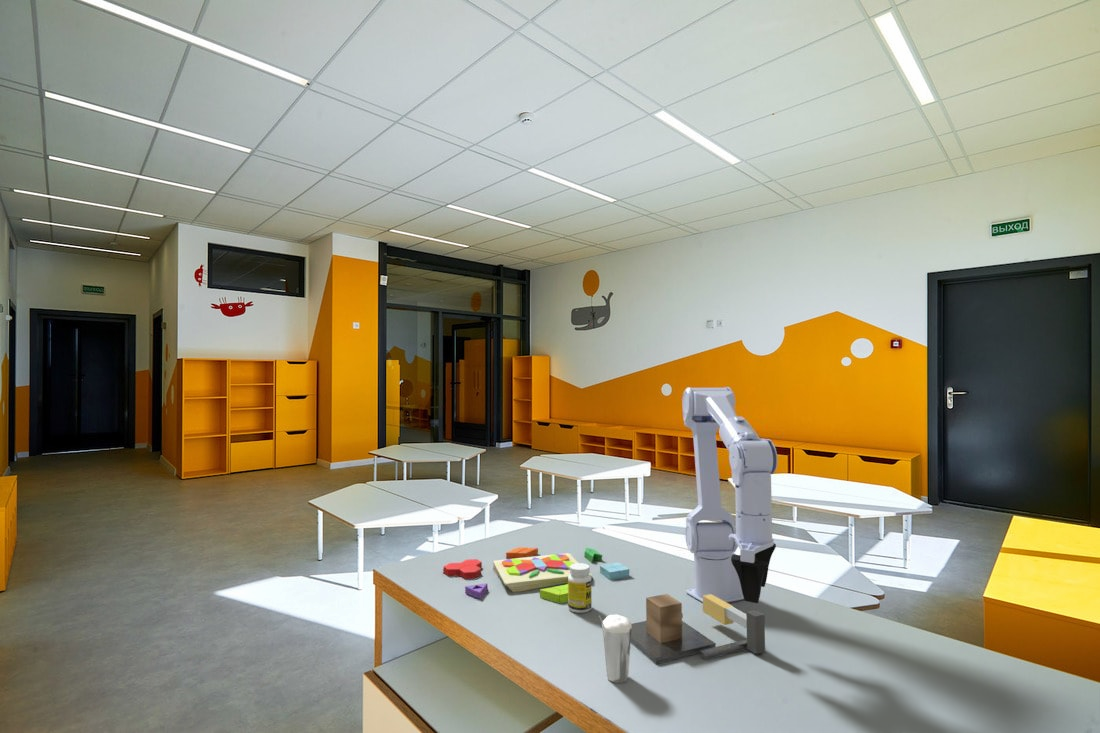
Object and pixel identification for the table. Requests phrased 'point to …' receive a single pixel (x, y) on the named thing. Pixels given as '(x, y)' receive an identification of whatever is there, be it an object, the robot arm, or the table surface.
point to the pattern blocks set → (532, 572)
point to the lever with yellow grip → (738, 620)
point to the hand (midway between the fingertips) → (755, 593)
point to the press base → (679, 644)
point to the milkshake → (617, 647)
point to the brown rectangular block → (664, 618)
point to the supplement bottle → (579, 588)
